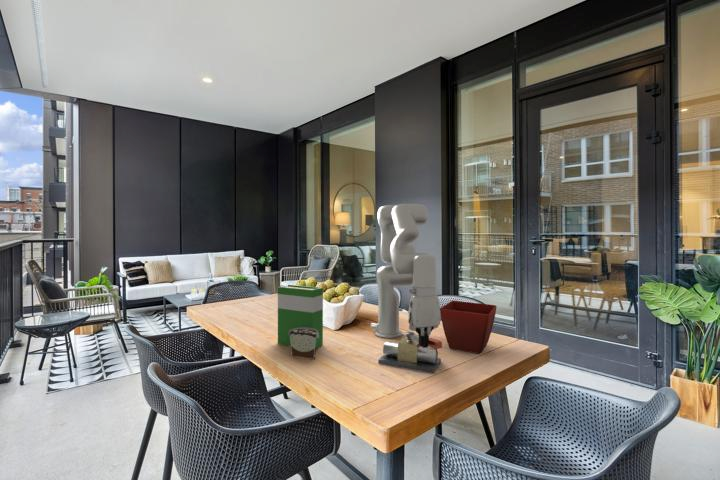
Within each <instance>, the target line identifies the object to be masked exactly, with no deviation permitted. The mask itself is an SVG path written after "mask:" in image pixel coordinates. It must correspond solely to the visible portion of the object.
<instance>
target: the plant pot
mask: <svg viewBox="0 0 720 480" xmlns="http://www.w3.org/2000/svg"><path fill="white" fill-rule="evenodd" d="M496 312H497V305H495V304H488V303H487V304H486V303H479V302H471V301H470V302H468V301H461V300H450V301H449V302H447V304H445V305H443V306H440V318H441V325H442V329H443V332H444V337H445V340H446V342H447V345H448V348H449V350H457V351H462V352H469V353H474V354H482V353H483V352H484V350H485V349H486V346H488V343H489V341H490V337H491V334H492V331H493V328H494V323H495V319H496V314H497V313H496Z"/></svg>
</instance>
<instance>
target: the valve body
mask: <svg viewBox="0 0 720 480" xmlns="http://www.w3.org/2000/svg"><path fill="white" fill-rule="evenodd" d="M438 350H439V349H434V348H431V347H427V348H426V347H425V348H423V347H421V346H420V345H419V342H418V341H415V340H409V339H406V336H403V337H402V338H401V339H400V340H399V341H397V342H395V341H394V342H393V341H385V342H384V343H383V346H382V353H383V355H382V356H381V357H379V358H378V364H379V365H384V366H389V367H390V366H391V367H396V368H400V369H401V368H402V369H408V370H412V371H419V372H423V373H429V374H435V372H436V371H437V369H438V368H439V367H440V365H441V364H442V358H439V357H438V355H439V353H438V352H439V351H438Z"/></svg>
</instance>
